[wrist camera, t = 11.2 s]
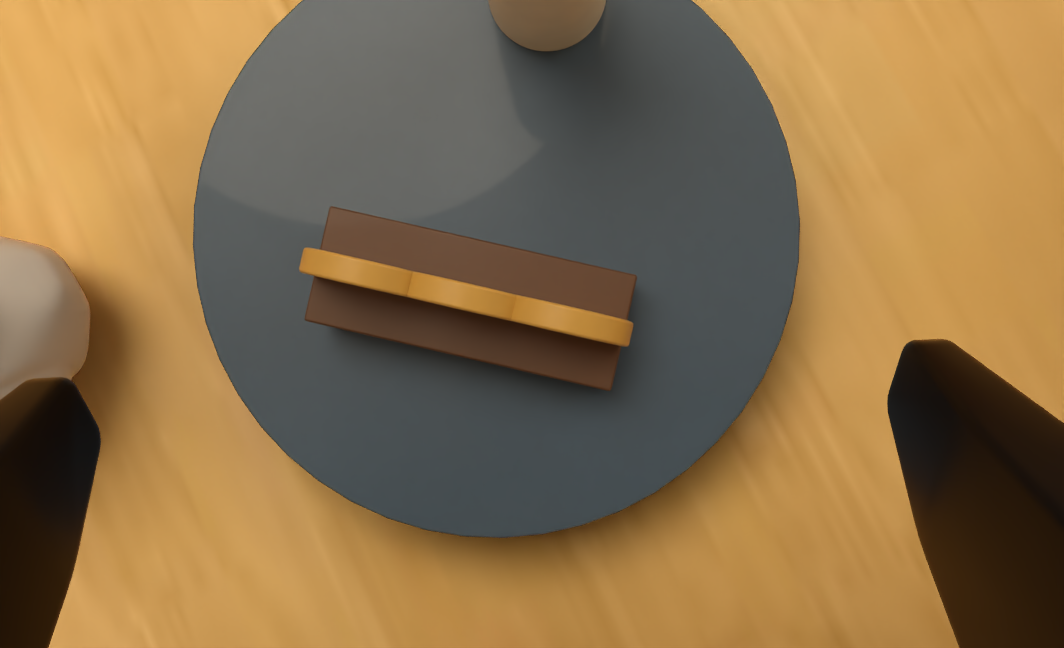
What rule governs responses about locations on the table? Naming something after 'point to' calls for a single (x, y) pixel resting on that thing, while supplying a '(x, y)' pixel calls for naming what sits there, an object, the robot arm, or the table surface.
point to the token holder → (496, 251)
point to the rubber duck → (39, 316)
